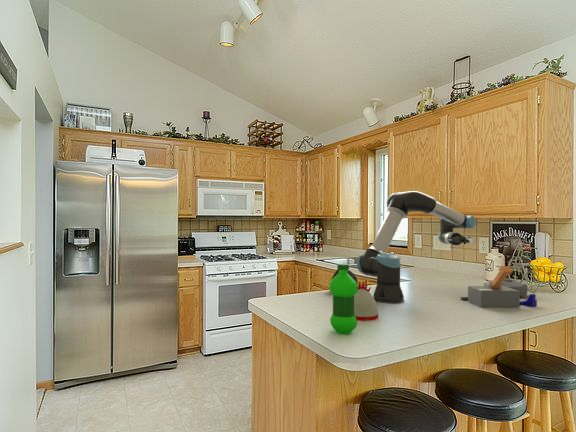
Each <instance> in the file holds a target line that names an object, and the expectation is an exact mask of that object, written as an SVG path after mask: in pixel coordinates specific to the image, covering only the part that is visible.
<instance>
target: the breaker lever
mask: <svg viewBox="0 0 576 432" xmlns="http://www.w3.org/2000/svg"><path fill="white" fill-rule="evenodd" d="M498 270H499V272H498V273H497V274H496V276H495V277H494V279H492V280H491V281H492V283H491V289H498V288H499V286H500V285H501V284H502V282H503V281H504V280H506V279H507V277H508V275H509V276H510V275H512V273H513V269H512V268H511V266H510V265H507V266H506V265H501V266H499V269H498Z"/></svg>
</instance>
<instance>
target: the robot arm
mask: <svg viewBox="0 0 576 432" xmlns="http://www.w3.org/2000/svg"><path fill="white" fill-rule="evenodd" d="M386 211H387V214H386V216H385V218H384V220H383V221H382V224H381V226H380V228H379V230H378V232H377V234H376V236H375V237H374V240H373V243H372V244H371V246H370V247H367V248H366V250H365V252H364V253H361V254H360V255H358V257H357V259H356V266H357V269H358V272H360V273H361V274H363V275H365V276H369V277H374V278H376V286H375V289H374V293H373V298H374V300H375V302H380V303H385V304H398V303H403V302H404V299H405V296H404V292H403V291H402V286H401V259H400V257H399V256H398V255H395V254H392V253H391V254H390V253H387V251H388V249H389V247H390V245H391V243H392V240H393V238H394V237H395V234H396V232H397V231H398V228H399V226H400V224H401V222H402V220H403V219H406V217H407V216H408V214H409V213H411V212H415V213H416V212H419V213H423V214H426V215H427V214H430V215H433V216H435V217H437V218H439V233H438V235H437V240H438V241H439V242H440V243H442V244H447V245H450V246H459V245H461V244H463V245H467V244H471V245H475V244H476V239H475V238H474V237H471V236H467V237H466V236H464V235H461V233H459V232H454V229H467V230H468V229H474V228H475V227H476V225H477V220H476V219H477V218H476V216H474V215H466V214H463V213H462V212H459V211H457V210H455V209H454V208H451V207H449V206H446V205H445V204H443V203H441V202H439V201H436V199H435V198H434V197H432V196H430V195H428V194H426V193H423V192H421V191H416V190H411V191H410V190H409V191H397V192H393V193H392V194H390V195H389V196H388V198H387V199H386Z"/></svg>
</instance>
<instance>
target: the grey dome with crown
mask: <svg viewBox="0 0 576 432" xmlns="http://www.w3.org/2000/svg"><path fill="white" fill-rule="evenodd" d="M371 289H372V287H371V286H369V287H368V284H367V283H366V284H365V281H362V284H361V281H359V282H358V290H357V293H356V294H355V295H354V315H355V317H356V320H357V321H361V322H370V321H375V320H377V319H379V309H378V305H377V301H376V300H374V295H372V294H371V293H370V290H371Z"/></svg>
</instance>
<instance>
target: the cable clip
mask: <svg viewBox="0 0 576 432" xmlns="http://www.w3.org/2000/svg"><path fill="white" fill-rule="evenodd" d="M522 305H523V306H522ZM537 305H538V300H537V299H536V294H535V293H530V294H529V296H528V298H527V299H526V300H520V306H522V307H528V308H535V307H537Z"/></svg>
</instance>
